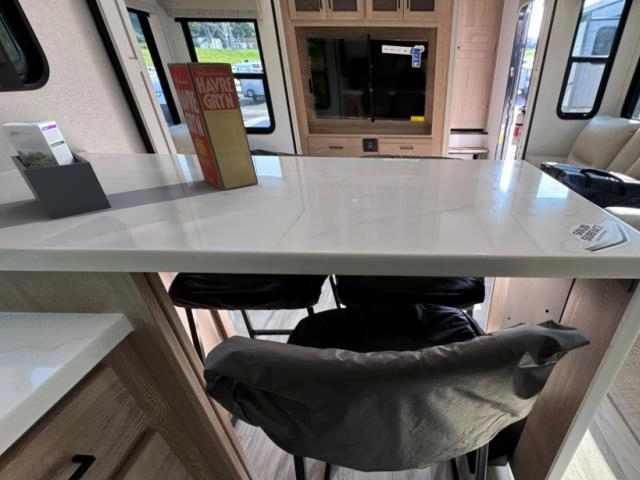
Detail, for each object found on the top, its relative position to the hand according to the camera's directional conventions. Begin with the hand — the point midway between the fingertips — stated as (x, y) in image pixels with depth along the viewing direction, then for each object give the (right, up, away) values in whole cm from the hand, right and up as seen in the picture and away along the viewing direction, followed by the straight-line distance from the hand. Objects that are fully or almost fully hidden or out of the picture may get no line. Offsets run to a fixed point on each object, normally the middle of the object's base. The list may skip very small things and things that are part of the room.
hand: (8, 86), depth 59 cm
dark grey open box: (0, -17, +12) cm, 21 cm away
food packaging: (+26, -8, +27) cm, 38 cm away
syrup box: (0, -17, +11) cm, 20 cm away
